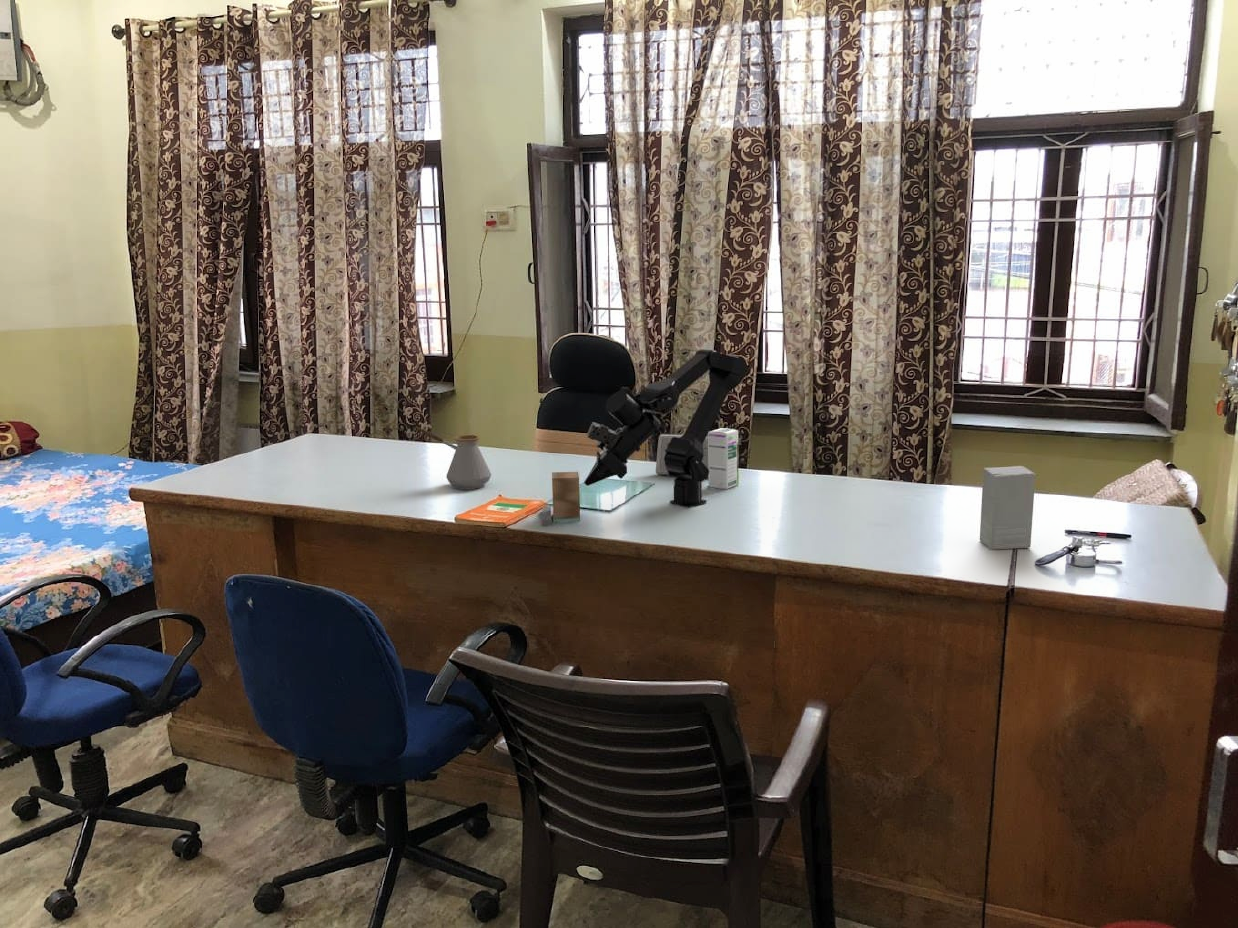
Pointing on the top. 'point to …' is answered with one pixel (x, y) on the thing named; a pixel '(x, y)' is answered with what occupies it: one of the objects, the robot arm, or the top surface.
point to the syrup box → (723, 458)
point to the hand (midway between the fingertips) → (585, 484)
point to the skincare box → (1007, 507)
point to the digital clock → (662, 446)
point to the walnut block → (565, 496)
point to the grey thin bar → (546, 515)
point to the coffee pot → (465, 462)
